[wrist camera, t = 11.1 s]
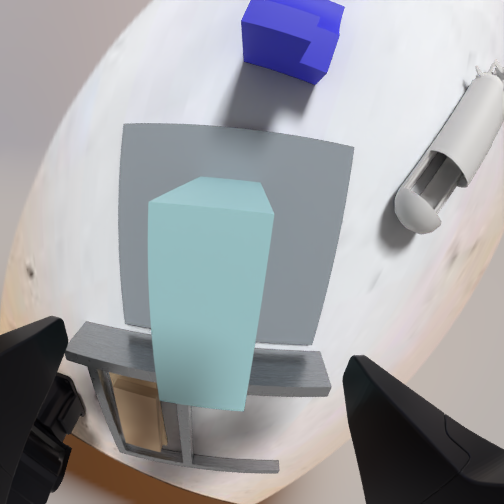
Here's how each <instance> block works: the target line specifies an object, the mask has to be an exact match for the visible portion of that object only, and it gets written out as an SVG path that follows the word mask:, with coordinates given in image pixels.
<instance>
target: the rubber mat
mask: <svg viewBox="0 0 504 504" xmlns="http://www.w3.org/2000/svg"><path fill="white" fill-rule="evenodd" d="M353 153H354V147H351V146H347V145H343V144H338V143H333V142H328V141H323V140H318V139H313V138H307V137H301V136H295V135H289V134H282V133H276V132H268V131H261V130H252V129H243V128H233V127H222V126H209V125H192V124H162V123H135V124H124V126H123V135H122V146H121V158H120V175H119V206H118V229H119V260H120V277H121V290H122V301H123V311H124V319H125V324H130V325H135V326H141V327H146V328H151V320H150V305H149V284H148V204H149V201H151V200H153V199H155V198H157V197H159V196H161V195H163V194H165V193H167V192H169V191H171V190H173V189H175V188H177V187H179V186H181V185H184V184H186V183H188V182H190V181H192V180H194V179H196V178H198V177H212V178H223V179H233V180H242V181H251V182H260V183H261V185H262V187H263V189H264V191H265V194H266V196H267V198H268V200H269V203H270V205H271V207H272V210H273V212H274V221H273V228H272V235H271V242H270V249H269V256H268V263H267V269H266V276H265V283H264V290H263V296H262V303H261V309H260V316H259V322H258V329H257V335H256V341H255V342H268V343H282V344H300V345H312V343H313V340H314V336H315V333H316V329H317V326H318V322H319V319H320V315H321V311H322V307H323V303H324V300H325V296H326V292H327V288H328V284H329V279H330V275H331V271H332V267H333V262H334V258H335V253H336V249H337V244H338V239H339V234H340V229H341V224H342V219H343V214H344V209H345V203H346V197H347V192H348V186H349V180H350V173H351V167H352V160H353Z"/></svg>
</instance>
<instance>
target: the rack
mask: <svg viewBox="0 0 504 504" xmlns="http://www.w3.org/2000/svg"><path fill="white" fill-rule="evenodd" d="M65 356H66V359H67V360H69V361H72V362H75V363H78V364H82V365H85V366H87V367H88V370H89V374H90V377H91V380H92V383H93V386H94V389H95V392H96V395H97V398H98V401H99V403H100V406H101V409H102V411H103V414H104V417H105V419H106V422H107V424H108V426H109V429H110V431H111V434H112V436H113V438H114V440H115V443H116V445H117V447H118V449H119V451H120V452H121V453H125V454H128V455H132V456H136V457H140V458H144V459H148V460H153V461H157V462H162V463H167V464H172V465H178V466H184V467H191V468H198V469H206V470H215V471H225V472H239V473H278V472H279V460H245V459H229V458H218V457H209V456H201V455H194V453H193V437H192V416H191V406H189V405H182V404H177V413H178V423H179V432H180V441H181V449H182V453H181V452H175V451H169V450H164V449H161V452H157V451H153V450H150V449H146V448H142V447H139V446H135V445H132V444H129V443H126V441H125V437H124V433H123V430H122V426H121V422H120V418H119V413H118V409H117V406H116V403H115V400H114V396H113V393H112V390H111V386H110V382H109V379H108V375H107V372H110V373H114V374H118V375H123V376H127V377H131V378H136V379H140V380H145V381H150V382H155V383H157V380H156V372H155V363H154V354H153V344H152V335H150V334H144V333H139V332H133V331H128V330H123V329H118V328H113V327H109V326H104V325H100V324H95V323H91V322H87V321H86V322H85V323H84V325H83V326H82V327H81V328H80V329H79V331H78V332H77V333H76V334H75V336H74V337H73V338H72V339H71V341H70V342H69V343H68V346H67V348H66V351H65ZM330 389H331V384H330V381H329V377H328V374H327V371H326V368H325V365H324V362H323V359H322V356H321V353H320V352H319V351H293V350H275V349H261V348H254V354H253V360H252V366H251V372H250V378H249V384H248V390H247V395H260V396H284V397H327V396H328V394H329V392H330Z"/></svg>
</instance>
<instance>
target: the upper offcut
mask: <svg viewBox="0 0 504 504" xmlns="http://www.w3.org/2000/svg"><path fill="white" fill-rule="evenodd" d="M113 390H114V395H115V400H116V405H117V409H118V413H119V418H120V422H121V426H122V430H123V433H124V437H125V441H126V443H129V444H132V445H135V446H139V447H142V448H146V449H150V450H153V451H157V452H161V449H162V445H163V443H162V430H161V416H160V401H159V394H158V389H155V388H151V387H147V386H144V385H140V384H136V383H133V382H129V381H126V380H122V379H119V378H117V380H116V382H115V384H114V385H113Z"/></svg>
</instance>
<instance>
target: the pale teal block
mask: <svg viewBox="0 0 504 504" xmlns="http://www.w3.org/2000/svg"><path fill="white" fill-rule="evenodd" d="M273 221H274V212H273V210H272V207H271V205H270V203H269V200H268V198H267V196H266V194H265V191H264V189H263V187H262V185H261V183H260V182H251V181H242V180H233V179H223V178H212V177H198V178H196V179H194V180H192V181H190V182H188V183H186V184H184V185H181V186H179V187H177V188H175V189H173V190H171V191H169V192H167V193H165V194H163V195H161V196H159V197H157V198H155V199H153V200H151V201H149V204H148V284H149V305H150V320H151V333H152V344H153V354H154V363H155V372H156V380H157V387H158V394H159V401H165V402H170V403H176V404H182V405H189V406H196V407H203V408H212V409H221V410H231V411H244V408H245V402H246V396H247V390H248V384H249V378H250V372H251V366H252V360H253V354H254V347H255V341H256V335H257V329H258V322H259V316H260V309H261V303H262V296H263V290H264V283H265V276H266V269H267V263H268V256H269V249H270V242H271V235H272V228H273Z"/></svg>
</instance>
